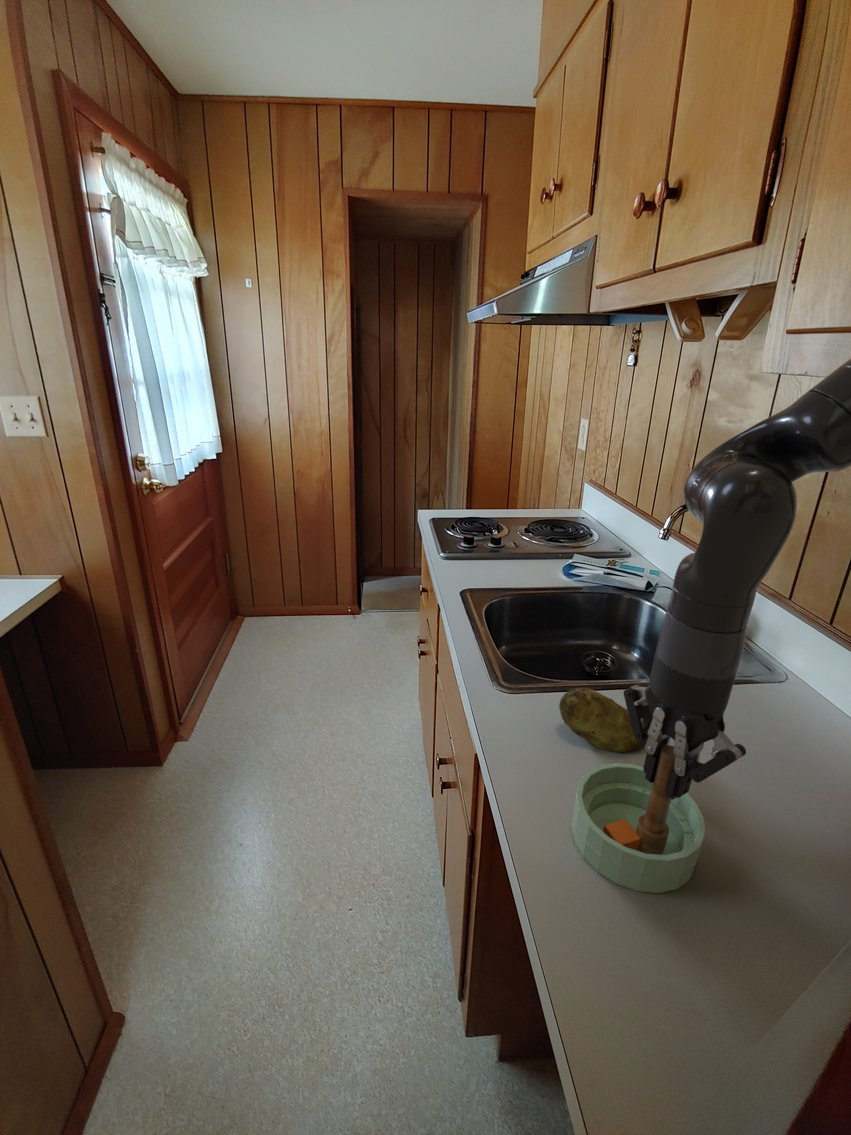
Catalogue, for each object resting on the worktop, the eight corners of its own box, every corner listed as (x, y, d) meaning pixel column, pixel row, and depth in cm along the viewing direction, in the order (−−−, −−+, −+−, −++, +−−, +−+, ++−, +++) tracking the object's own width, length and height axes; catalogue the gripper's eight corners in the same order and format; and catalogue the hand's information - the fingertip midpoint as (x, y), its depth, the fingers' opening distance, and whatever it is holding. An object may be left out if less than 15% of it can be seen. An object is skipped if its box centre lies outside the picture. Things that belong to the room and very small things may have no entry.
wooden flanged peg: (646, 827, 68) (668, 737, 62) (670, 848, 65) (695, 755, 60) (628, 839, 66) (648, 748, 61) (651, 861, 63) (675, 767, 58)
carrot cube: (621, 836, 68) (625, 818, 67) (636, 857, 65) (641, 838, 64) (600, 842, 67) (604, 824, 66) (615, 863, 64) (619, 845, 63)
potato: (633, 774, 79) (643, 729, 76) (549, 738, 85) (555, 696, 82) (648, 742, 85) (658, 699, 82) (568, 711, 92) (574, 670, 88)
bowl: (622, 782, 77) (629, 749, 75) (719, 860, 66) (731, 824, 64) (546, 826, 70) (552, 790, 68) (640, 921, 59) (650, 883, 57)
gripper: (787, 679, 52) (742, 815, 58) (661, 617, 62) (635, 738, 69) (742, 704, 48) (699, 846, 55) (616, 634, 59) (593, 760, 66)
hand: (663, 785), depth 62 cm, fingers closed on wooden flanged peg, 2 cm apart
